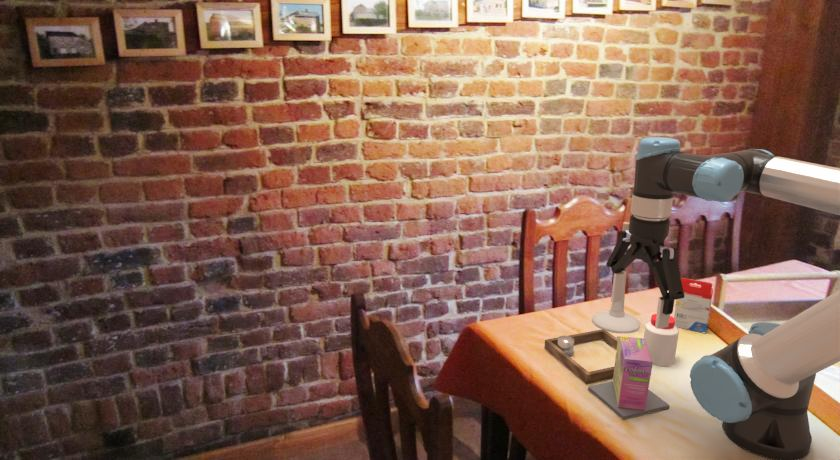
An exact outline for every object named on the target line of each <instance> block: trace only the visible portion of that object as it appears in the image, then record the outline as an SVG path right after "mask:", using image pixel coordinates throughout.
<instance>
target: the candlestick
mask: <svg viewBox="0 0 840 460" xmlns="http://www.w3.org/2000/svg"><path fill="white" fill-rule="evenodd" d="M629 222H630V221H624V222H622V229H621V231H626V230H629ZM630 247H631V245H629V247H628V249H629V248H630ZM628 249H627V250H628ZM625 254H626V253H625ZM625 254H624V255H625ZM625 270H626V271H622V272H625V273H626V274H627V268H626V269H625ZM625 293H626V290H625V291H624V300H623V301H619V302H612V301H611V306H610V309H606V310H601V311H598V312H596V313H595V314H593V315H592V320H591V321H592V323H593V324H594V325H595V327H597V328H599V329H600V330H601V329H604V330H605V331H607V332H608V333H609V332H611V333H614V334H631V333H635V332H637V331H638V330H640V327H641V323H640V321H639V320H638V319H637V317H635V316H633V315H632V314H631V313H628V312H626V311H625V297H626V296H625Z"/></svg>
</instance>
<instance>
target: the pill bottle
mask: <svg viewBox="0 0 840 460" xmlns="http://www.w3.org/2000/svg"><path fill="white" fill-rule="evenodd" d="M656 315H657V313H653V314H651V317H650V320H649V321H648V322H646V323H645V325H644V330H643V331H644V333H643V338H642V339H645V342H646V345H647V348H648V351H649V354H650V356H651V359H652V362H653V363H652V365H654V366H659V367H669V366H671V365H674V363H675V361H676V360H675V359H676V354H677V347H678V341H679V340H678V339H679V333H680V330H679V327H676V326H675V319H674V316H672V315H670V320H669V327H665V328H660V329H657V328H655V323H656Z"/></svg>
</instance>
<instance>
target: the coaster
mask: <svg viewBox="0 0 840 460" xmlns="http://www.w3.org/2000/svg"><path fill="white" fill-rule="evenodd" d="M587 387H588V389H587V391H590V392H591V393H592V394H593V395H594V396H595V398H597V399H598V400H599V401H600V402H602V403H603V404H604V405H605V406H606V407H608V409H610V410H611V411H612V410H613V411H614V412H613V411H612V412H613V413H614V414H615V415H617V416H618V417H619V418H620V417H621V419H622V421H624V420H627V419H631V418H635V417H640V416H644V415H648V414H652V413H656V412H660V411H664V410H667V409H670V404H669V403H668V402H666V401H665V400H664V399H662V398H661V397H660V396H658V395H657V394H655V392H653V391H651V390H650V389H649V388H648V395H647V401H646V408H645V411H644V410H635V409H626V408H619V407H618V405H617V399H616V394H615V390H614V385H613V380H612V381H608V382H607V381H606V382H603V383H602V382H601V383H598V384H594V385H589V386H587Z"/></svg>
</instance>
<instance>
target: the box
mask: <svg viewBox="0 0 840 460" xmlns="http://www.w3.org/2000/svg"><path fill="white" fill-rule="evenodd" d="M617 339H618V342H617V350H616V349H615V350H616V351H615V360H614V366H613V367H614V375H613V378H612V381H613V385H614V390H615V394H616V399H617V405H618V407H619V408H626V409H635V410H644V411H645V408H646V401H647V395H648V389H649V387H650V380H651V375H652V369H653V364H652V363H653V362H652V359H651V356H650V354H649V351H648V348H647V345H646V342H645V339H643V338H642V337H632V336H624V335H623V336H622V335H619V336H617Z"/></svg>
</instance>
